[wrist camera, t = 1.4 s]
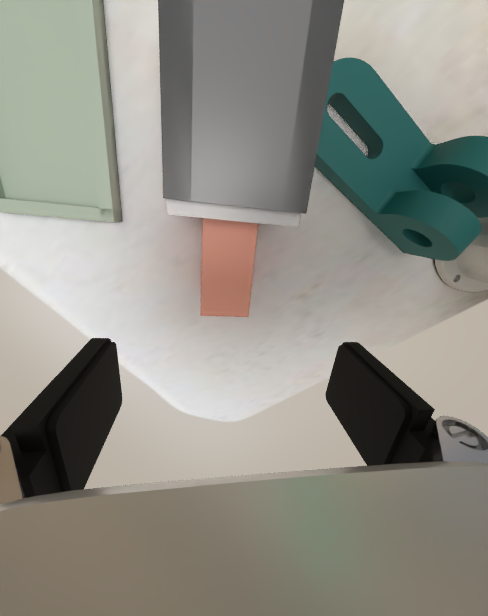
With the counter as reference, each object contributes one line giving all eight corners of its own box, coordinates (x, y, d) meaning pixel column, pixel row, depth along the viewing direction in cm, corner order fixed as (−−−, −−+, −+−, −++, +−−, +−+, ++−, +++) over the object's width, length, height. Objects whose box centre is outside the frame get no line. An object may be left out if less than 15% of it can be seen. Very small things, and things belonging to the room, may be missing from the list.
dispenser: (266, 221, 23) (303, 228, 14) (183, 213, 22) (163, 214, 13) (283, 79, 19) (352, -46, 10) (184, 59, 18) (155, -104, 9)
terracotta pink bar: (256, 112, 20) (274, 74, 14) (240, 294, 26) (248, 317, 20) (207, 104, 19) (206, 61, 14) (202, 292, 25) (200, 315, 19)
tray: (91, -136, 14) (73, -188, 12) (122, 221, 21) (113, 222, 20) (-101, -194, 13) (-154, -263, 11) (2, 210, 20) (-19, 210, 18)
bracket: (449, 198, 25) (549, 192, 17) (401, 252, 26) (474, 267, 19) (330, 51, 19) (404, -48, 12) (278, 132, 21) (315, 88, 13)
